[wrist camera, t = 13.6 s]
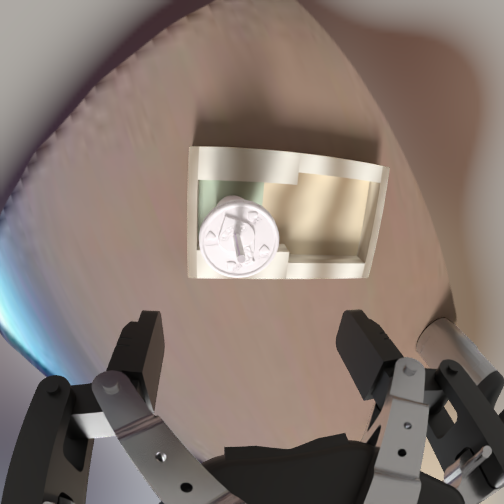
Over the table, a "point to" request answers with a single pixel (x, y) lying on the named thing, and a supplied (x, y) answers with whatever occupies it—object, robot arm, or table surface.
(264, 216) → the smoothie
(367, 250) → the cream rectangular tray
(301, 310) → the table surface
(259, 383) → the table surface
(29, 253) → the table surface
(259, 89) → the table surface
